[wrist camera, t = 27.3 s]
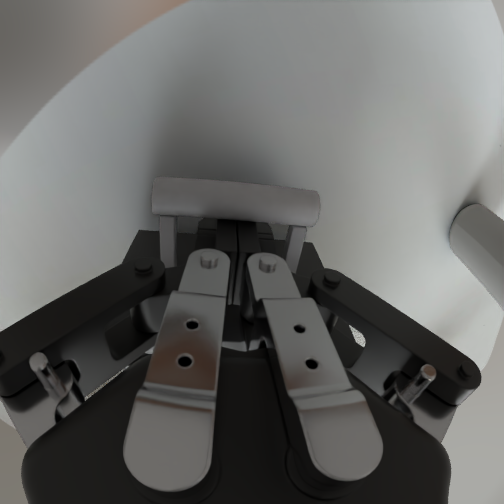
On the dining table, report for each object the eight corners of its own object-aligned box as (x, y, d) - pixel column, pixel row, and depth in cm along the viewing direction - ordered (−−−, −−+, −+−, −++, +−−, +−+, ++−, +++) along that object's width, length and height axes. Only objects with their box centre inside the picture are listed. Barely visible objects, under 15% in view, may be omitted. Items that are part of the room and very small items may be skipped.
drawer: (136, 147, 14) (64, 209, 7) (331, 165, 15) (404, 236, 8) (155, 359, 23) (143, 441, 16) (275, 365, 24) (287, 446, 18)
